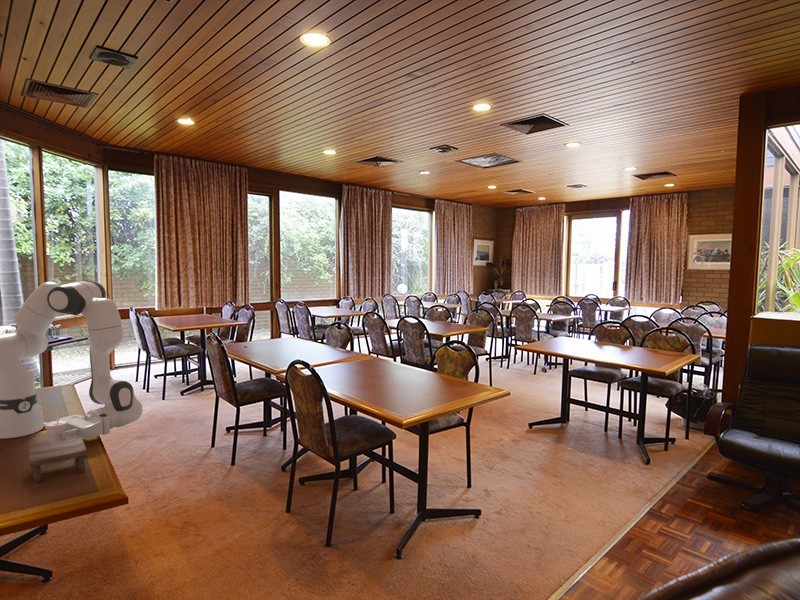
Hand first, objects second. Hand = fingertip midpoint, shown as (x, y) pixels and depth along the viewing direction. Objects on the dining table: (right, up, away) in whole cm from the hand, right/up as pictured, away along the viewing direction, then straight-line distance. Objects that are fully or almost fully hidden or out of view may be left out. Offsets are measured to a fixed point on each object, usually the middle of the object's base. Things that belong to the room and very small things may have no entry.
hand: (54, 432), depth 164 cm
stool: (+13, -8, -15) cm, 21 cm away
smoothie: (0, -7, +1) cm, 7 cm away
